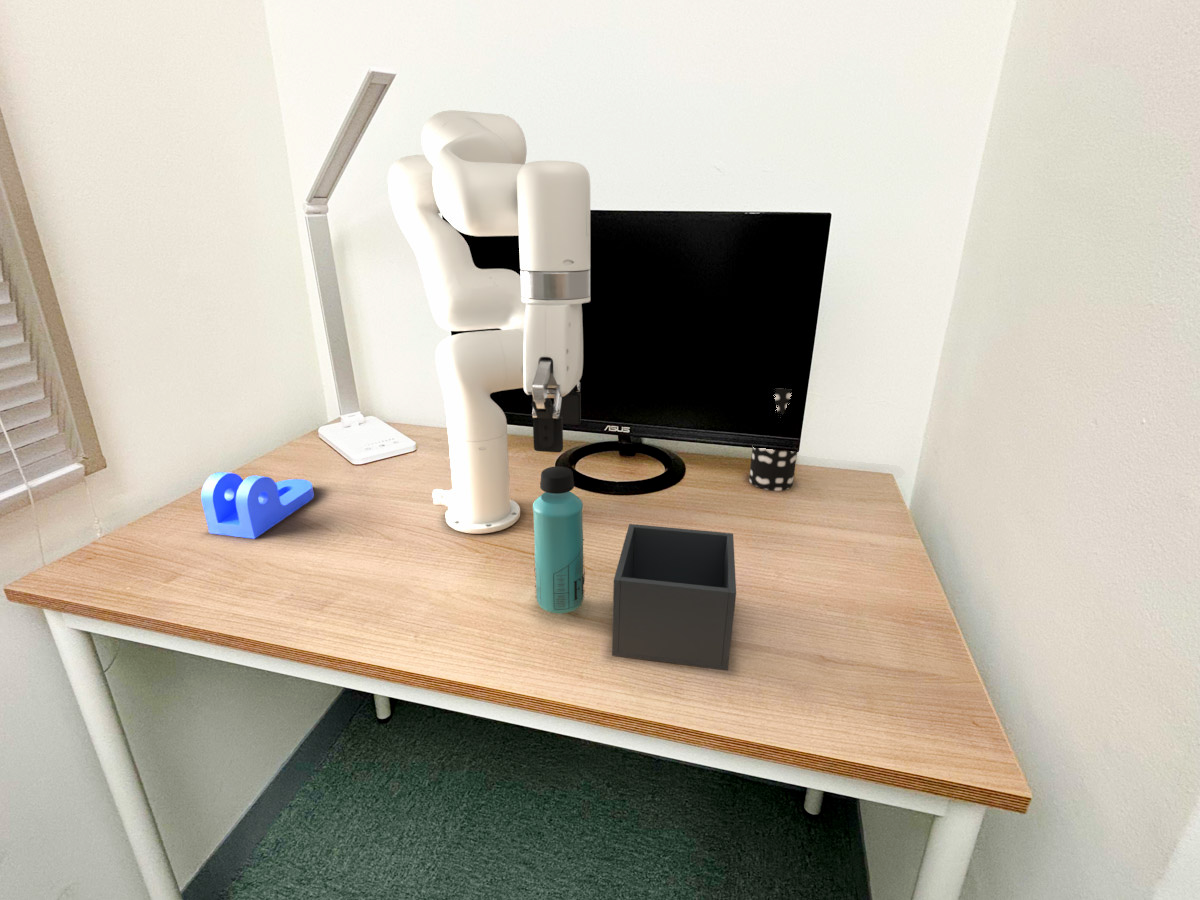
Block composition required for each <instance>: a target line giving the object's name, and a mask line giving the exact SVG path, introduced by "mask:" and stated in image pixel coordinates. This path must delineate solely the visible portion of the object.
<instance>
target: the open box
mask: <svg viewBox="0 0 1200 900" xmlns="http://www.w3.org/2000/svg"><path fill="white" fill-rule="evenodd" d="M618 559H619V560H618V563H617V567H616V571H615V574H614V578H613V592H612V593H613V595H612V636H611V637H612V638H611V640H612V641H611V656H613V657H620V658H629V659H635V660H636V659H638V660H644V661H651V662H661V663H668V664H674V665H675V664H676V665H682V666H683V665H684V666H691V667H699V668H706V669H707V668H708V669H714V670H723V671H728V670H729V665H730V664H729V663H730V655H731V646H732V636H733V627H734V618H735V609H736V599H737V581H736V563H735V561H736V560H735V543H734V533H731V532H724V531H723V532H722V531H710V530H701V529H690V528H681V527H680V528H678V527H669V526H657V525H647V524H637V523H636V524H634V523H629V524H628V527H627V531H626V534H625V537H624V541H623V545H622V548H621V552H620V556H619V558H618Z"/></svg>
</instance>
